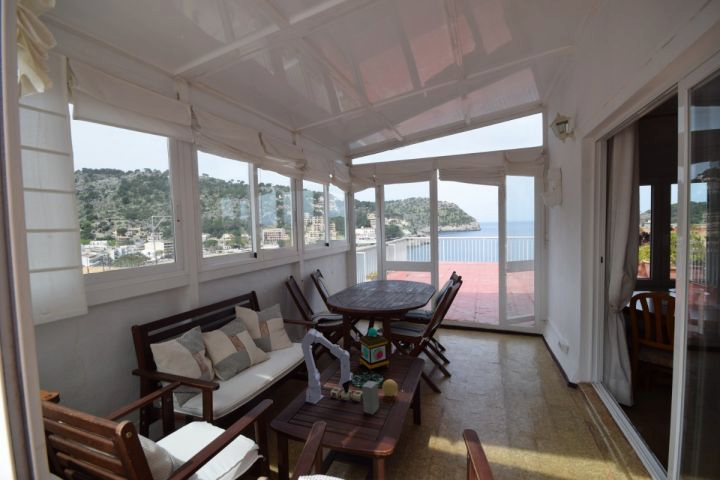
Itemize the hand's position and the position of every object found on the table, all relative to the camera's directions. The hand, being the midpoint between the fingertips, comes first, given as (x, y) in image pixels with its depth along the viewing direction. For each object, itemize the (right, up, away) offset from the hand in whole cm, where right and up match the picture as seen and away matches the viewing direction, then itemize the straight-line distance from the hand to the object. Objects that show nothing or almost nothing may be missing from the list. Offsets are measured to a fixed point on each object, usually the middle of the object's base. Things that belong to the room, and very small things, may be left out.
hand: (346, 391), depth 201 cm
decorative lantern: (+20, -1, +42) cm, 46 cm away
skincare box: (+15, -4, -14) cm, 21 cm away
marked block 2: (+7, -4, -1) cm, 9 cm away
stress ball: (+28, -3, +1) cm, 28 cm away
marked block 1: (-7, -4, +3) cm, 9 cm away
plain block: (0, -4, 0) cm, 4 cm away
